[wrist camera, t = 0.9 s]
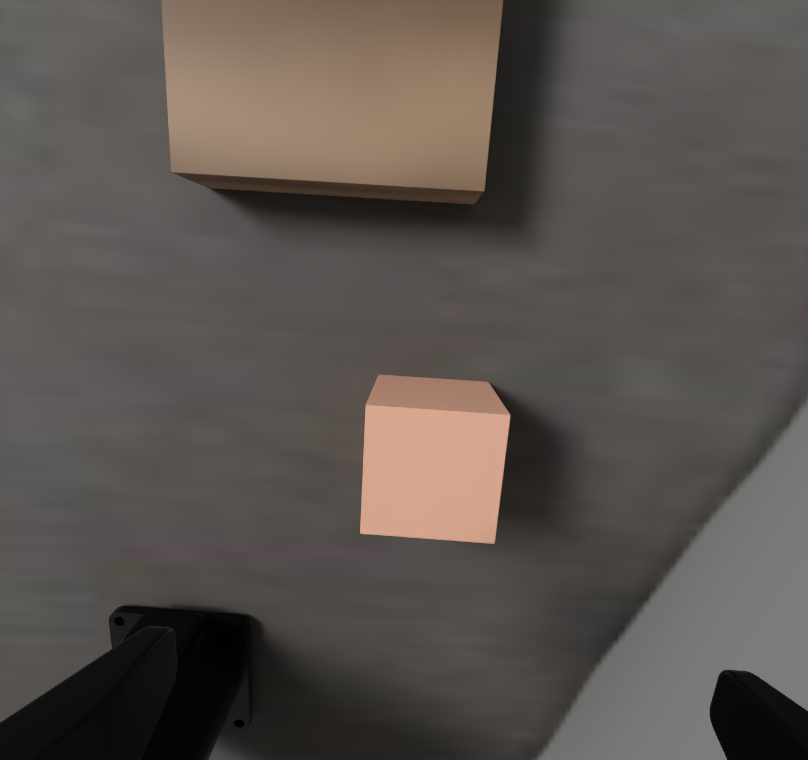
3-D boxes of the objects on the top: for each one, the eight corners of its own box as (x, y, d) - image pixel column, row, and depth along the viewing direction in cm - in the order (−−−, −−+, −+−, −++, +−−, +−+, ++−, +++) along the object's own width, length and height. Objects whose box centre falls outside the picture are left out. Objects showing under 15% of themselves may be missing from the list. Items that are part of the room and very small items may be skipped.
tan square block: (472, 206, 17) (484, 191, 14) (214, 190, 17) (171, 172, 14) (502, -117, 14) (524, -218, 11) (202, -132, 14) (148, -236, 12)
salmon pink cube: (477, 482, 19) (494, 543, 14) (373, 474, 19) (360, 533, 15) (487, 381, 18) (510, 415, 13) (378, 373, 18) (365, 405, 14)
